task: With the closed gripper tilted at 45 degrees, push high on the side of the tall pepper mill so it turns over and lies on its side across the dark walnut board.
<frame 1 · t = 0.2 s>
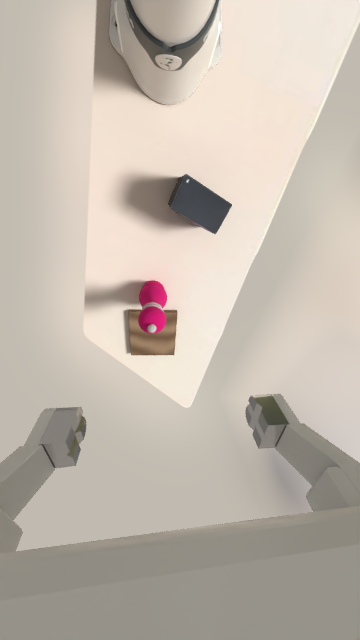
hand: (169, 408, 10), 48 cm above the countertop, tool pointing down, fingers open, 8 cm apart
walnut board: (153, 332, 65), on the countertop
pepper mill: (153, 290, 58), on the countertop
small box: (193, 204, 48), on the countertop
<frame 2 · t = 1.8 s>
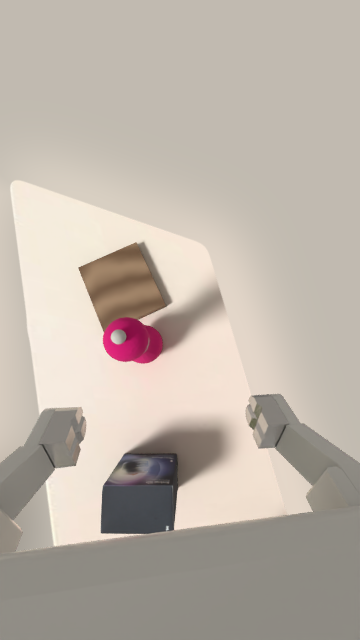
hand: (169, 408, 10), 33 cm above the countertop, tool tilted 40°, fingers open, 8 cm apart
walnut board: (123, 288, 46), on the countertop
pepper mill: (148, 345, 44), on the countertop
small box: (150, 469, 40), on the countertop
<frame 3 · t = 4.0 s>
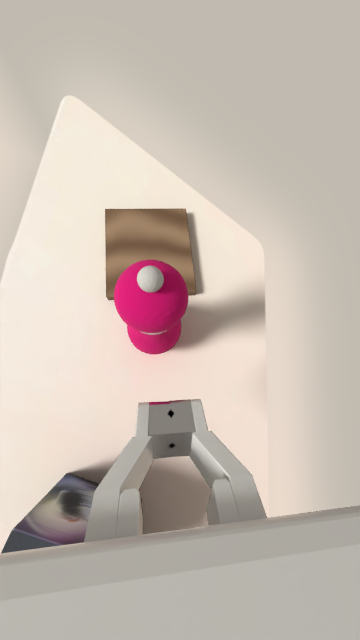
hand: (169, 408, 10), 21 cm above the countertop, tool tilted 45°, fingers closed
walnut board: (149, 254, 36), on the countertop
pepper mill: (155, 333, 32), on the countertop
small box: (95, 510, 26), on the countertop
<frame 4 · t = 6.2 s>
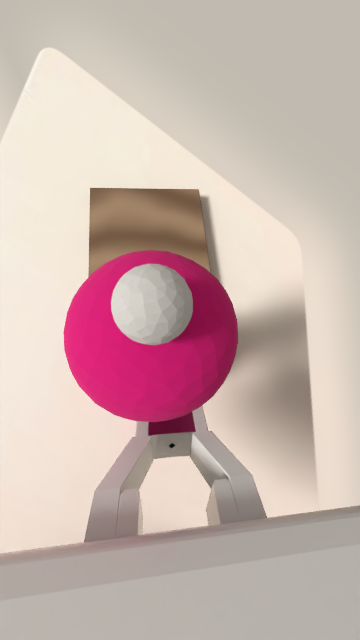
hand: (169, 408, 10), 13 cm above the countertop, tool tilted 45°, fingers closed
walnut board: (150, 249, 26), on the countertop
pepper mill: (157, 360, 23), on the countertop, touching gripper
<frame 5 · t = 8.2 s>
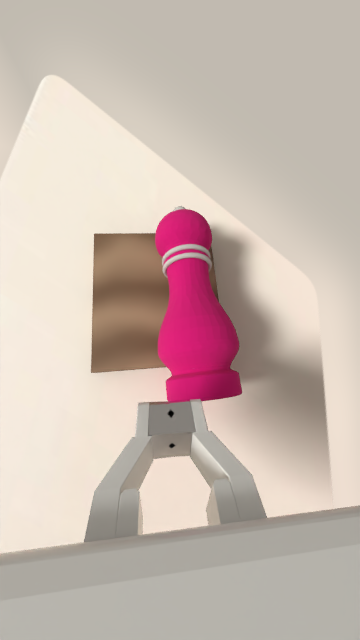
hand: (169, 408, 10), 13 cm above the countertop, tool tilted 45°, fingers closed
walnut board: (157, 299, 25), on the countertop
pepper mill: (204, 400, 17), point 5 cm above the countertop, touching walnut board
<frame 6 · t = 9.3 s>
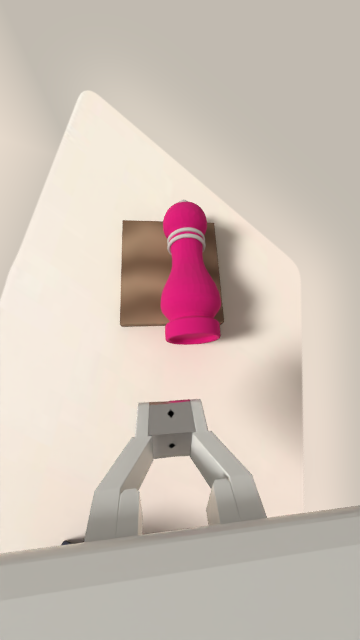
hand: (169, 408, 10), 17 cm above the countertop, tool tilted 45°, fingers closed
walnut board: (170, 273, 31), on the countertop
pepper mill: (193, 341, 23), point 5 cm above the countertop, touching walnut board
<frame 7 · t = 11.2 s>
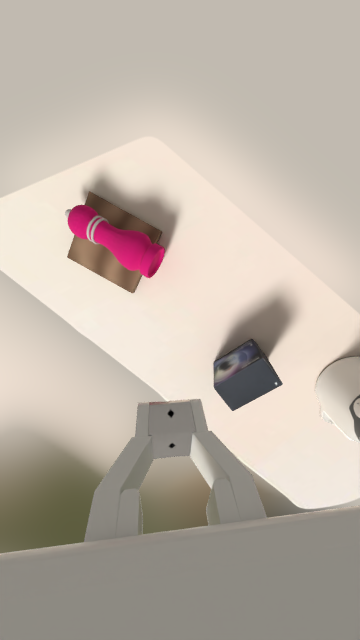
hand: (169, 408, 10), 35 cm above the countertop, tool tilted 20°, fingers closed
walnut board: (114, 245, 44), on the countertop
pepper mill: (157, 263, 38), point 5 cm above the countertop, touching walnut board
small box: (239, 360, 47), on the countertop
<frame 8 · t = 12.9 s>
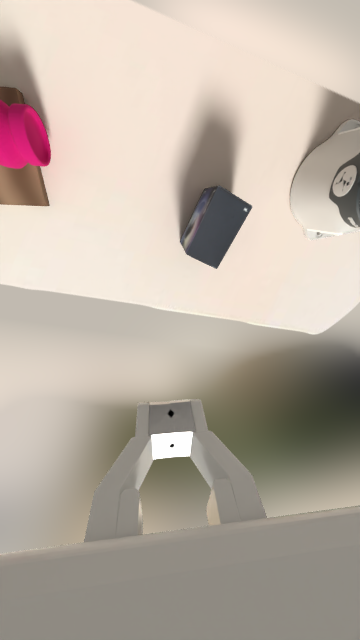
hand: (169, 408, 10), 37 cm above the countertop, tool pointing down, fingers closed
pepper mill: (40, 137, 28), point 5 cm above the countertop, touching walnut board
small box: (204, 223, 41), on the countertop
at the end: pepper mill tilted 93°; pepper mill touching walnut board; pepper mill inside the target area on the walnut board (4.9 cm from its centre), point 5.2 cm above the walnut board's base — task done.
